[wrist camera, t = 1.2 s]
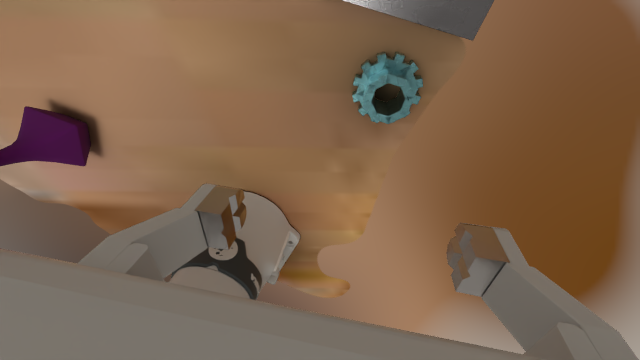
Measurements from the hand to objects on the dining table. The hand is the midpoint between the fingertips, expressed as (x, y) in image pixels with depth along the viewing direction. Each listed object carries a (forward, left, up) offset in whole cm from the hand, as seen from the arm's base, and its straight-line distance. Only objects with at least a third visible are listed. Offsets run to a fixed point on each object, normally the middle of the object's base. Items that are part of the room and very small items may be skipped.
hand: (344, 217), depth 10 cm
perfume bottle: (-21, +41, -26) cm, 52 cm away
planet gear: (-1, -3, -26) cm, 26 cm away
